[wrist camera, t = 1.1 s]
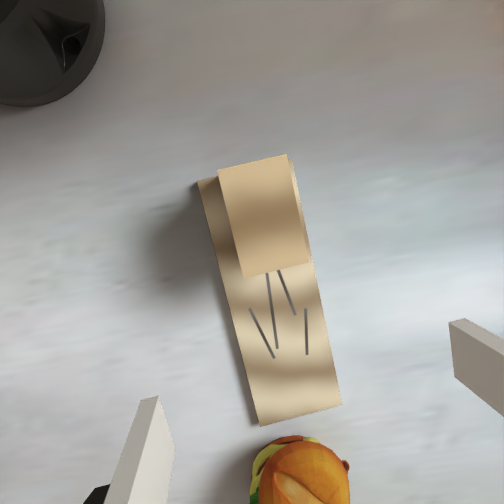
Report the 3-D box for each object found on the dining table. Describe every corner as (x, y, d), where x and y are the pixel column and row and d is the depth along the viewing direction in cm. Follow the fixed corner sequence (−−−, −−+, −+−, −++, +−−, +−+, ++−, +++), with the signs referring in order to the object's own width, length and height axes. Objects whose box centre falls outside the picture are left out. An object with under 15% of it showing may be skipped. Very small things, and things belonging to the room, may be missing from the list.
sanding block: (218, 175, 32) (216, 169, 24) (270, 163, 32) (286, 153, 24) (238, 258, 34) (243, 278, 26) (288, 246, 34) (308, 262, 26)
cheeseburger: (240, 511, 39) (248, 589, 29) (249, 413, 40) (258, 457, 30) (328, 514, 40) (364, 591, 30) (334, 418, 41) (371, 462, 31)
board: (197, 181, 33) (196, 180, 32) (289, 159, 33) (291, 158, 32) (259, 420, 38) (260, 426, 37) (339, 399, 38) (342, 404, 37)
